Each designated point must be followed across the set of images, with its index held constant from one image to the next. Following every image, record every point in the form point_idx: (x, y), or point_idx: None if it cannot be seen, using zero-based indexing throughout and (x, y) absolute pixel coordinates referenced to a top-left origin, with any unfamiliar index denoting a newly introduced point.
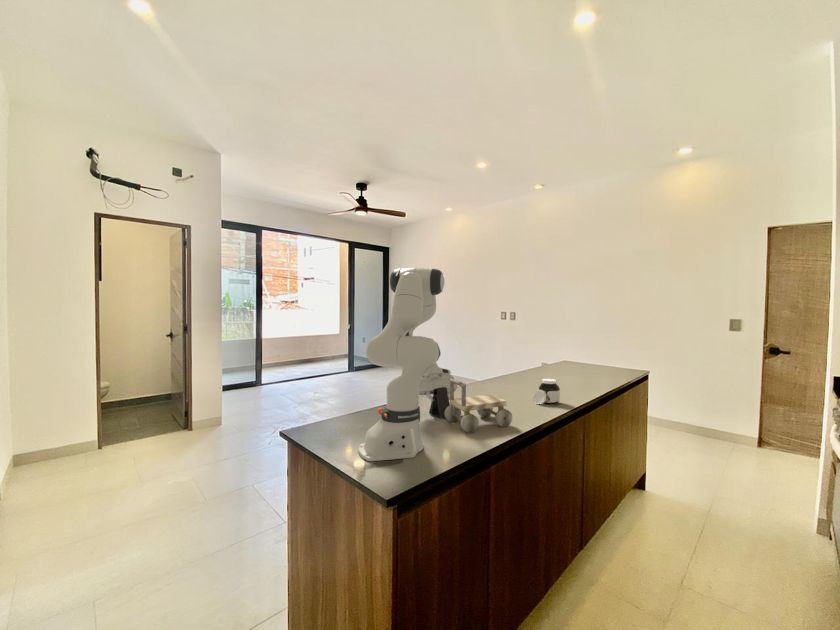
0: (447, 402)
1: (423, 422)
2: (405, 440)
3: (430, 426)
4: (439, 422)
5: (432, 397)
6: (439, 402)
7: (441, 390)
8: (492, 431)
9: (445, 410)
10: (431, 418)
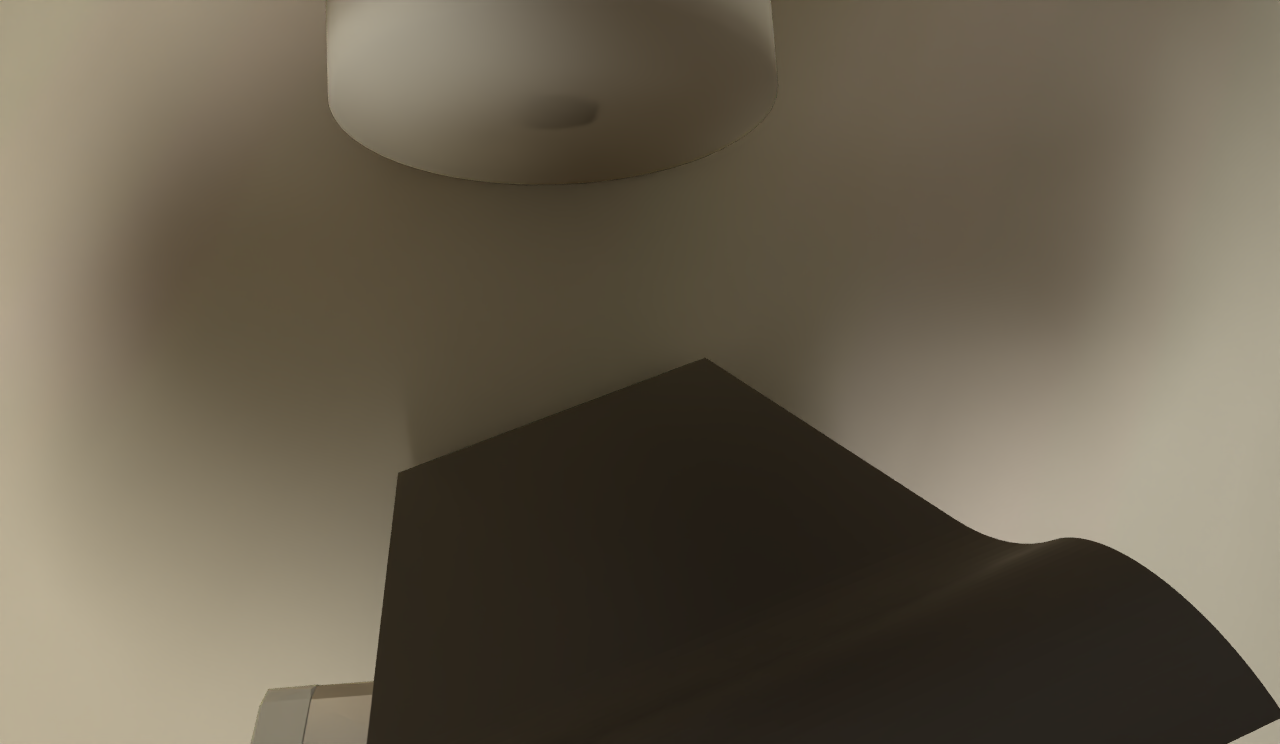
0: (466, 579)
1: (1137, 308)
2: None
3: (1074, 43)
4: (837, 188)
5: None
6: (835, 461)
7: (821, 693)
8: None
9: (771, 45)
10: None
